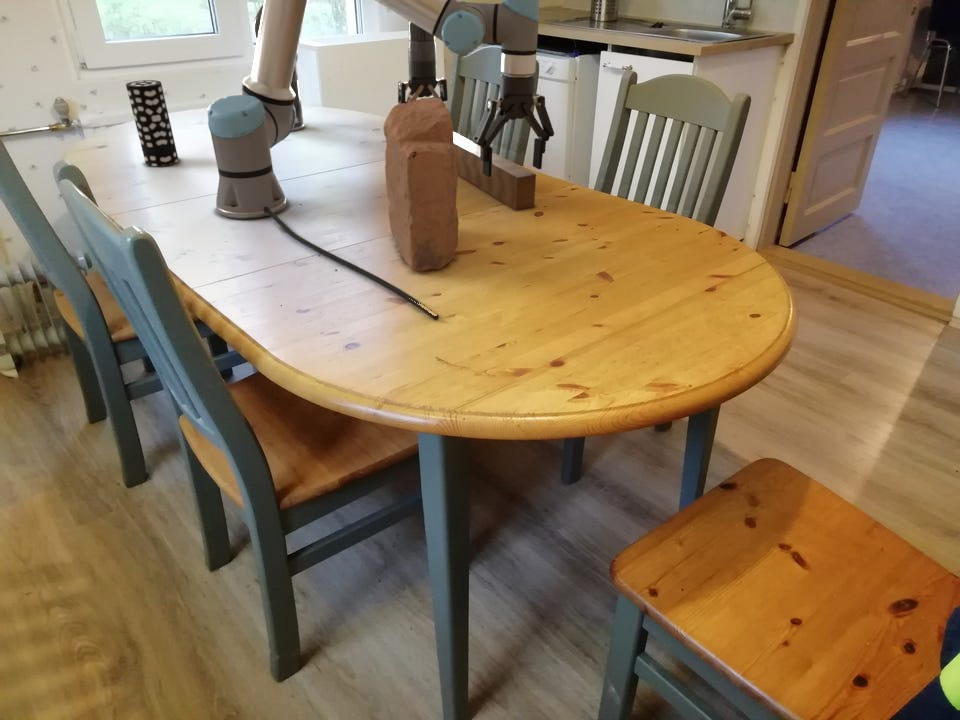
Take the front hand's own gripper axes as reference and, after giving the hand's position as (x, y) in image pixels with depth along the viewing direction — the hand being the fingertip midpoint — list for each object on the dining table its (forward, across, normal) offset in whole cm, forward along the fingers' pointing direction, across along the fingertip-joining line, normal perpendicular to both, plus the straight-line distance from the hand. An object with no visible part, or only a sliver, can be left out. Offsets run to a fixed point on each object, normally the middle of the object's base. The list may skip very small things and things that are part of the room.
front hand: (512, 171), depth 160 cm
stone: (+7, +30, +17) cm, 36 cm away
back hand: (-1, 0, -50) cm, 50 cm away
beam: (+7, 0, -25) cm, 26 cm away
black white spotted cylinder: (-2, +69, -69) cm, 98 cm away
